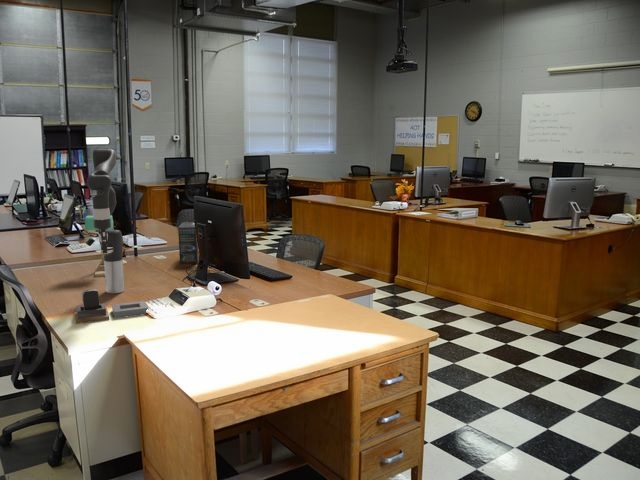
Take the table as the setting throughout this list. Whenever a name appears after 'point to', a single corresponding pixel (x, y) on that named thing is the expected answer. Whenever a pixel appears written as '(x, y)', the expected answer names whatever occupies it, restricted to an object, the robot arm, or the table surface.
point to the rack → (91, 314)
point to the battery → (90, 299)
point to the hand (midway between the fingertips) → (104, 251)
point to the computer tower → (188, 243)
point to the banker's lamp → (100, 267)
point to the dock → (129, 309)
